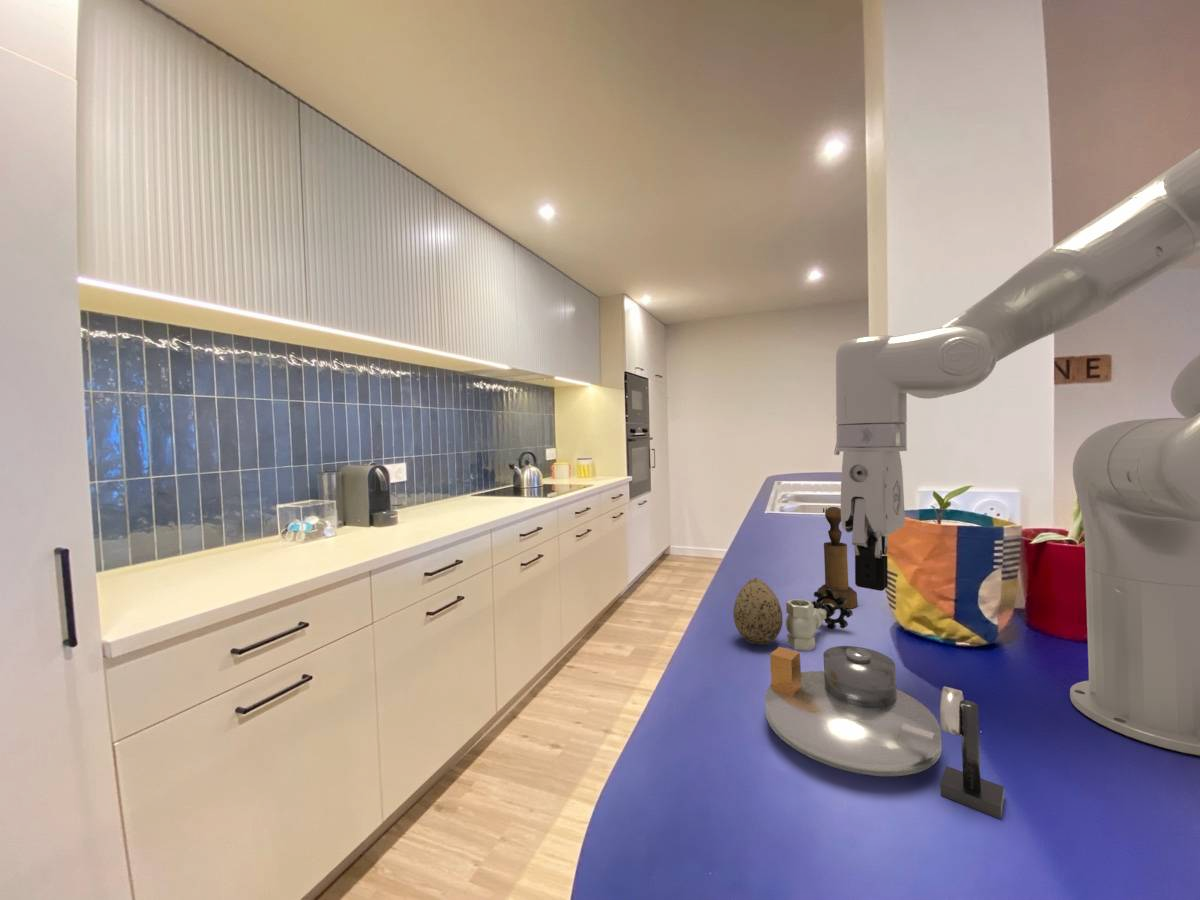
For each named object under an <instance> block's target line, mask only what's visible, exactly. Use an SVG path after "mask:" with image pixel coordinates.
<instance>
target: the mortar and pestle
mask: <svg viewBox="0 0 1200 900" xmlns="http://www.w3.org/2000/svg"><path fill="white" fill-rule="evenodd" d="M824 517H825V518H826V520H827V522H828V523H829V527H830V529H829V530H828V531H827V533H828V537H829V539H830V540H829V541H828V542H827V541H826V542H824V543H823V555H824V557H823V558H824V584H822V585H821V586H820V587H818V589H817V591H821V592H822V593H823V595H827V593H826V592H825V591H826V590H827V589H829V588H832V589H833V590H834V592H835V593H834V596H835V597H837V598H838V597H840V596H845V597H846V598H847V602H846V603H844V604H843V605H844V607H845V608H848V609H854V608H856V607H858V593H857V591H856V590H854V588H852V587H851V586H850V585H849V569H848V566H849V565H848V544H847V543H844V542H841V539H842V531H841V530H840V523H841V507H840V508H839V507H837V506H829V507H828V508H826V510H825V512H824ZM830 603H831V604H833V605H834V606H836V605H838V604H837V603H836V602H835V601H833V600H831V599H824V600H823V601H822V604H830ZM822 604H821V605H822ZM853 607H854V608H853Z"/></svg>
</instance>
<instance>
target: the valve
mask: <svg viewBox="0 0 1200 900" xmlns="http://www.w3.org/2000/svg"><path fill="white" fill-rule="evenodd" d="M825 592H826V593H827V595H823V593H822V592H821V591H818V590H816V591H815V592H813V596H814V598H817V599H816V600H813V601H810V600H806V599H802V598H801V599H800V598H794V599H789V600H788V601H786V603H785V607H786V613H787V616H786V618H785V627H786V631H787V632H788V633H787V634H786V635H787V644H788V646H789V645H790V647H791V648H792V649H793V648H794V649H793V650H794V651H803V652H805V651H806V652H809V651H812V650H814V649H815V647H816V637H815V636H814V635H815V633H816V630H817V629H819V628H820V627H821V626H822V624H823V621H824V623H825V624H826V628H827V629H828V630H834V629H836V626H837V624H839V628H840V629H845V628H847V627H848V625H849V623H848V621H847V620H846V619H845V617H846V618H850V617H852V616H853V611H852V609H851V608H848V609H845V607H844V605H843V604H844V603H846V602H847V598H846V597H845V596H840V597H838V598H837V597H835V596H834V593H835V592H834V590H833V589H832V588H829V589H827V590H826V591H825ZM824 599H831V600H833V601H835V602H836V603H837V604H838V605H836V606H834V605H833V604H831V603H830V604H824V605H822V601H823V600H824ZM838 610H839V613H840V614H839V616H838V617H836V618H831V617H833V616H834V615H835V614H836V613H837V611H838Z"/></svg>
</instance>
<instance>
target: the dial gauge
mask: <svg viewBox="0 0 1200 900" xmlns="http://www.w3.org/2000/svg"><path fill="white" fill-rule="evenodd" d="M939 702H940V704H939V720H940V721H939V725H940V729H941V731H944V732H946V733H949V734H952V735H956V736H959V737H961V762H962V766H961V767H962V770H959V769H956V768H954V767H952V766H948V765H946V766H945V769H944V771H943V775H942V777H941V781H940V783H939V785H940V787H939V789H940V796H942V797H945V798H947V799H949V800H951V801H954V802H957V803H958V804H959V803H960V804H962V805H963V806H967V807H969V808H971V809H974V810H977V811H978V812H981V813H984V814H987V815H990V816H992V817H995V818H997V819H1000V820H1002V815H1003V810H1004V803H1005V786H1004V785H1000V784H998V783H995V782H992V781H989V780H987V779H984V778H981V756H980V754H981V753H980V752H981V751H980V733H979V732H980V728H979V726H980V724H979V723H980V722H979V705H978V704H977V703H975V702H974V701H970V700H967V699H965V700H964V695H963V691H962V690H960V689H956V688H953V687H949V686H948V687H947V686H942V689H941V695H940V701H939Z"/></svg>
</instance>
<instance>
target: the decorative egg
mask: <svg viewBox="0 0 1200 900" xmlns="http://www.w3.org/2000/svg"><path fill="white" fill-rule="evenodd" d="M777 597H778V596H776V594H775V593H774V591H773V590H772V589H771V587H770V586H769V585H768V584H767V583H766V582H764V580H762V579H760V578H757V577H756V578H755V577H754V578H751V579H750V580H748V581H747V582H746V583H745V584H744V586H743V587H741V589H740V591H739V592H738V594H737V596H736V598H735V601H734V606H733V612H732V613H733V622H734V624H735V627H736V630H737V632H738V633H739V635H740V636H741V637H742V638H743V639H744V640H745V641H746V642H749V643H750V644H752V645H756V646H765V645H768V644H770V643H772V642H773V641H774V640H775V639H776V638H777V637H778V636H779V634H780V632H781V630H782V628H783V627H782V626H783V612H782V607H781V605H780V601H779V599H778V598H777Z"/></svg>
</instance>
